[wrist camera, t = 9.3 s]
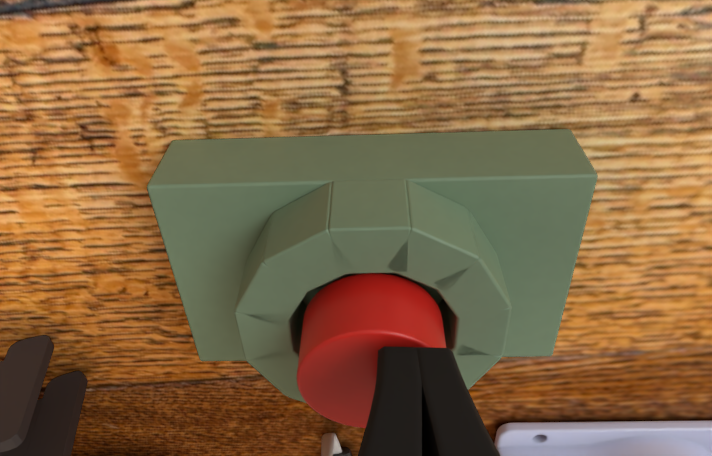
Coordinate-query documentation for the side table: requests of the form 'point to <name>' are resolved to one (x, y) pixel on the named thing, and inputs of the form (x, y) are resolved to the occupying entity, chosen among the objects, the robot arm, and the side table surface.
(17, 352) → the clip-on lamp
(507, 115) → the side table surface
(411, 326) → the red button
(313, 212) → the button housing
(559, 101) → the side table surface
